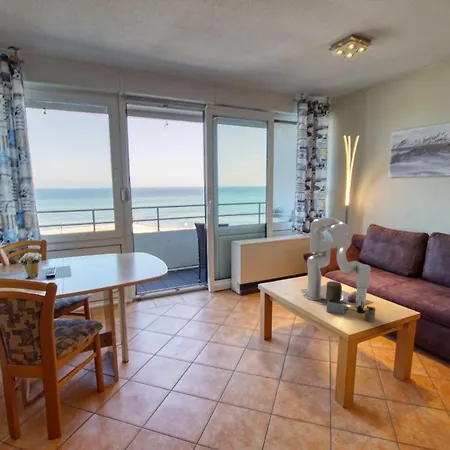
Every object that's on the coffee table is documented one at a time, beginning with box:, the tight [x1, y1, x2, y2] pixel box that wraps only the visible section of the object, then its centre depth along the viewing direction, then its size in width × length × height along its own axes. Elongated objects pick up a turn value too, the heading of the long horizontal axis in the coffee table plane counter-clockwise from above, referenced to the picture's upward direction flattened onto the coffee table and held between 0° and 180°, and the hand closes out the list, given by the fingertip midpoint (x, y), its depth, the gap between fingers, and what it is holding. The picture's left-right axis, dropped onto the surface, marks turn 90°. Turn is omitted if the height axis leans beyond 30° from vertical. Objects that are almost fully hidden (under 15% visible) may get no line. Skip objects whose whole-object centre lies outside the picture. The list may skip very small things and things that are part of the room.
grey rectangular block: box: [325, 299, 348, 317], centre depth 197 cm, size 11×6×7 cm, turn 58°
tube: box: [341, 303, 369, 315], centre depth 192 cm, size 16×4×4 cm, turn 58°
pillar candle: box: [325, 281, 342, 303], centre depth 213 cm, size 10×10×15 cm
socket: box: [364, 305, 376, 323], centre depth 187 cm, size 5×7×7 cm
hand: (360, 311), depth 190 cm, fingers closed on tube, 3 cm apart
